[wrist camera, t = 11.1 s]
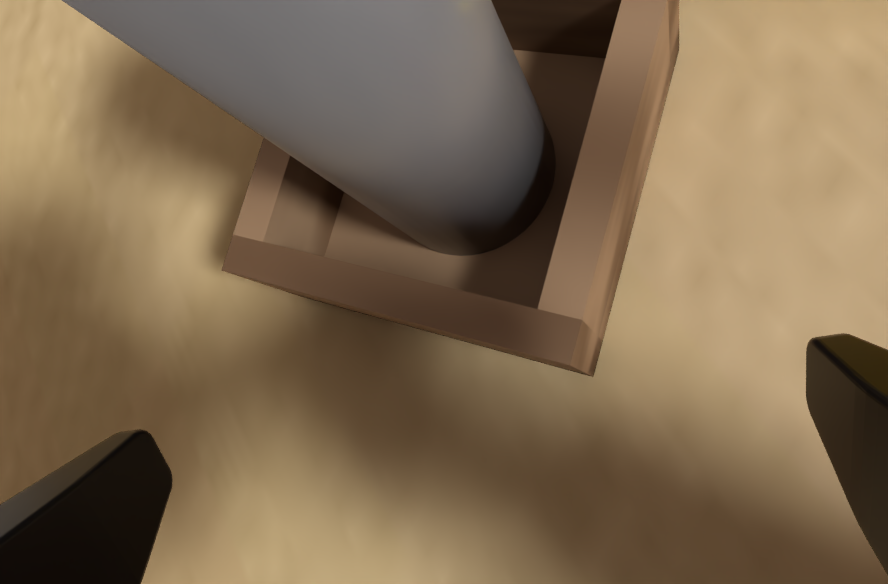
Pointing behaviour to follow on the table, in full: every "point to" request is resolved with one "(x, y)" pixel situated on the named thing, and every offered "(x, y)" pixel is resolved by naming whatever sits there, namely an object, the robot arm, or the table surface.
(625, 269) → the table surface
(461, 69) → the charcoal canister
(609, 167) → the walnut socket
